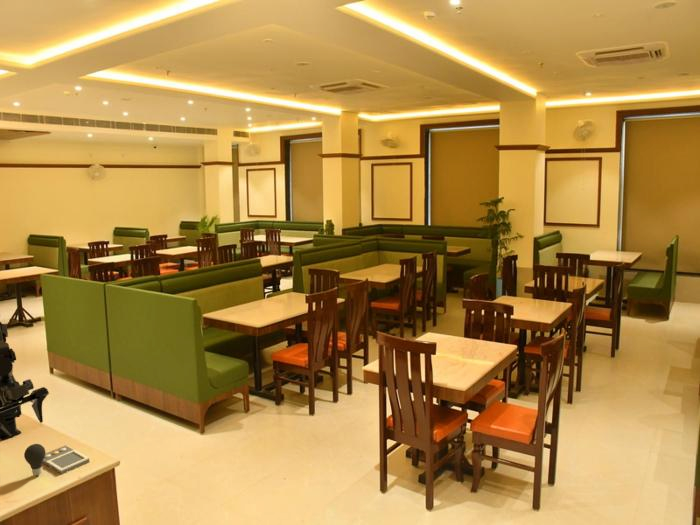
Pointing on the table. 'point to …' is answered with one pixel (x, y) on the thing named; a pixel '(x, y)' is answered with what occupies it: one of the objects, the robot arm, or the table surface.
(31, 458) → the light bulb
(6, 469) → the table surface
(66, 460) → the indicator board
